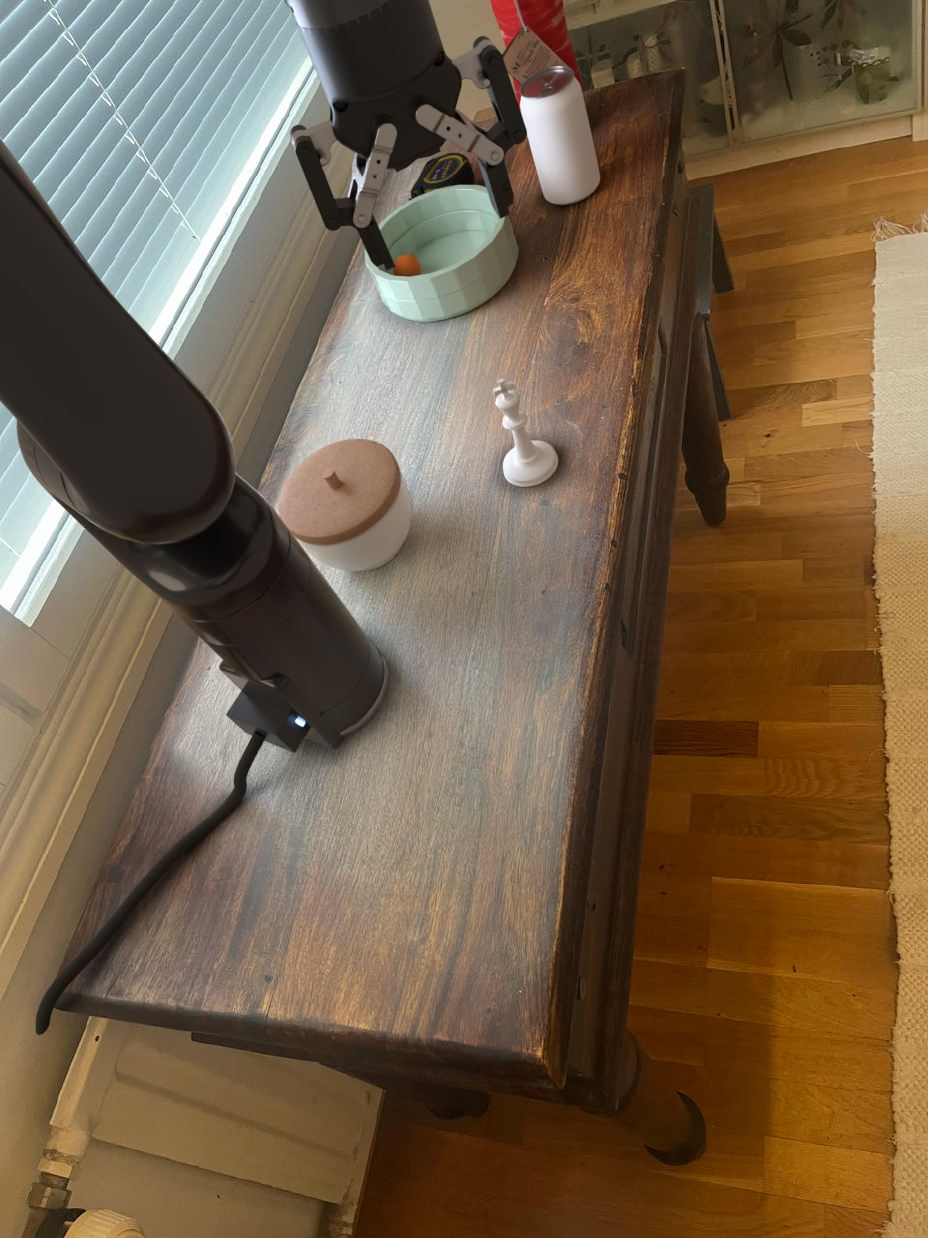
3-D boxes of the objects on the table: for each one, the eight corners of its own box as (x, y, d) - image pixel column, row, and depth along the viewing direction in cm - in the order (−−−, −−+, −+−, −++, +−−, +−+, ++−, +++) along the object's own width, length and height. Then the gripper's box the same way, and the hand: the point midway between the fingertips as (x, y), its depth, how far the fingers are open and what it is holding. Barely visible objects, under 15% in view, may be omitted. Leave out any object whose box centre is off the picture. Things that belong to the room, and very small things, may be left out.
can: (601, 165, 104) (578, 55, 94) (600, 199, 100) (577, 89, 91) (545, 178, 106) (517, 73, 96) (542, 212, 102) (513, 106, 93)
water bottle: (582, 165, 105) (526, -87, 85) (515, 176, 108) (446, -64, 88) (599, 105, 111) (550, -143, 91) (535, 117, 114) (474, -121, 94)
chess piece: (496, 459, 83) (464, 375, 75) (547, 437, 83) (519, 350, 75) (513, 495, 80) (481, 411, 72) (566, 472, 80) (539, 385, 72)
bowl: (479, 329, 94) (462, 285, 90) (359, 318, 102) (338, 276, 98) (543, 230, 100) (530, 184, 96) (425, 226, 108) (409, 183, 104)
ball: (414, 275, 99) (427, 282, 101) (410, 247, 99) (423, 254, 101) (390, 283, 100) (404, 289, 103) (386, 255, 100) (400, 262, 103)
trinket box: (295, 559, 84) (244, 492, 77) (376, 480, 87) (335, 407, 79) (367, 612, 78) (319, 545, 71) (453, 525, 81) (415, 451, 73)
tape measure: (436, 181, 113) (425, 152, 110) (486, 176, 110) (476, 146, 107) (415, 216, 110) (404, 188, 107) (466, 213, 107) (456, 183, 104)
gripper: (246, 65, 50) (363, 309, 63) (488, -54, 49) (557, 219, 62) (230, 19, 55) (342, 255, 67) (451, -91, 54) (522, 170, 66)
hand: (445, 237), depth 64 cm, fingers open, 8 cm apart
